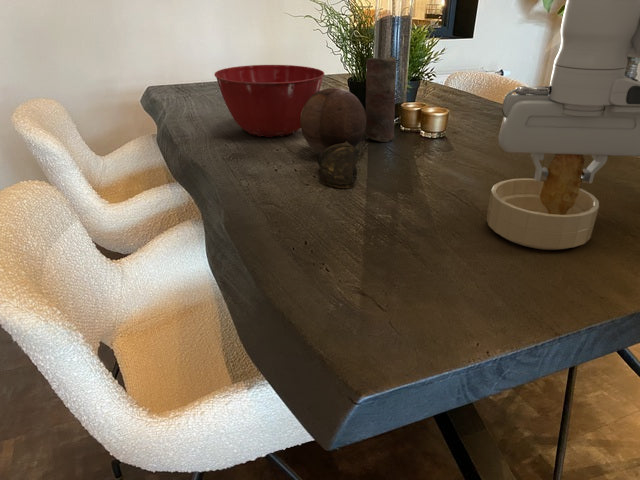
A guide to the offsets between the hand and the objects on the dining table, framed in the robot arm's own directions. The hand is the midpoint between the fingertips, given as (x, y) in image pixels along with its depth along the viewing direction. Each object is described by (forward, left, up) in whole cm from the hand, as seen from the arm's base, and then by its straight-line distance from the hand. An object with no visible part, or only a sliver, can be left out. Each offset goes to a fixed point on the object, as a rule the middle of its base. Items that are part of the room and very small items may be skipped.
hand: (562, 181), depth 74 cm
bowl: (+2, -1, -9) cm, 9 cm away
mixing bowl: (+59, -54, -9) cm, 80 cm away
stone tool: (0, 0, -6) cm, 6 cm away
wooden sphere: (+40, -36, -9) cm, 54 cm away
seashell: (+37, -22, -9) cm, 44 cm away
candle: (+30, -50, -9) cm, 59 cm away
